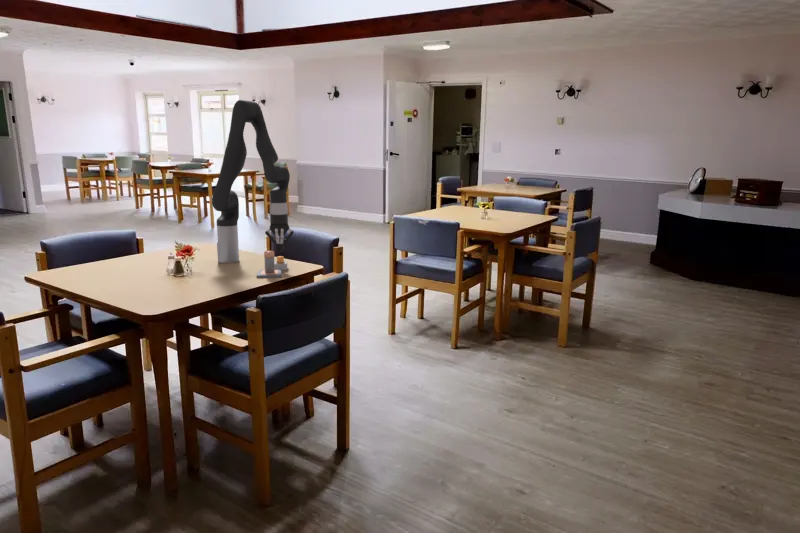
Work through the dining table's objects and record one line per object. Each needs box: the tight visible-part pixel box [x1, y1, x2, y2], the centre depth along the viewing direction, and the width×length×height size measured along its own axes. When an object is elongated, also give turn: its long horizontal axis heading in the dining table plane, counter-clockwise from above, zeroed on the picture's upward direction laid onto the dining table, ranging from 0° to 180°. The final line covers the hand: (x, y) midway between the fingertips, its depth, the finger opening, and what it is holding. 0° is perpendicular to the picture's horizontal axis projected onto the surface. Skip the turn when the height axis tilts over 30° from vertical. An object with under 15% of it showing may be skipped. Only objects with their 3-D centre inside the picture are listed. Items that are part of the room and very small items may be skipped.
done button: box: [276, 255, 285, 264], centre depth 251 cm, size 3×3×3 cm
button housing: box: [274, 260, 288, 271], centre depth 252 cm, size 6×6×3 cm
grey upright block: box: [263, 249, 275, 273], centre depth 240 cm, size 4×4×9 cm
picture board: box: [256, 269, 283, 279], centre depth 242 cm, size 10×10×1 cm
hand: (280, 251), depth 250 cm, fingers closed
